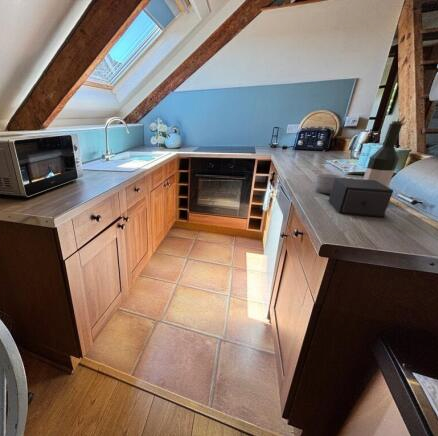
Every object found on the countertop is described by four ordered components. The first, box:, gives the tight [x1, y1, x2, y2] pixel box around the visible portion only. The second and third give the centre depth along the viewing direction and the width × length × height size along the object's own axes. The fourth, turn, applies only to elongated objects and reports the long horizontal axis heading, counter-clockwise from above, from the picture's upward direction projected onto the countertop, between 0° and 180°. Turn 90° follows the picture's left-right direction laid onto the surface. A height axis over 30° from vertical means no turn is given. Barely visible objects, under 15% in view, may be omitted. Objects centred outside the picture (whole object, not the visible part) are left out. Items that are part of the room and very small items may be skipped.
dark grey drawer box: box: [328, 177, 394, 218], centre depth 89 cm, size 15×13×10 cm
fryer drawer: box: [342, 189, 393, 217], centre depth 87 cm, size 15×11×8 cm
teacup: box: [314, 173, 355, 195], centre depth 108 cm, size 14×11×8 cm
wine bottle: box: [362, 120, 403, 188], centre depth 96 cm, size 8×8×30 cm
